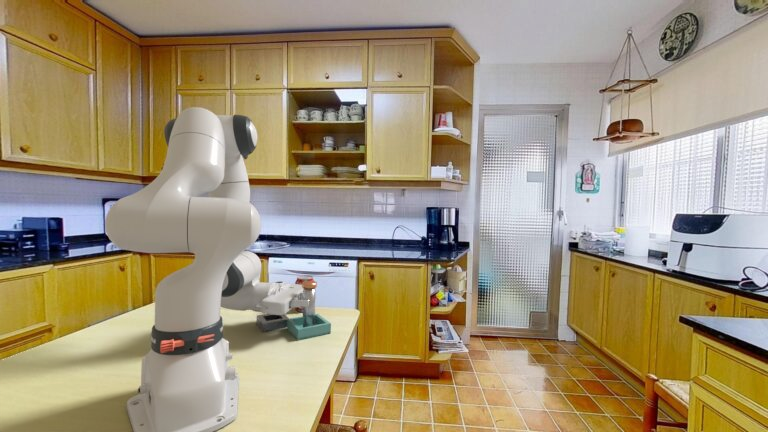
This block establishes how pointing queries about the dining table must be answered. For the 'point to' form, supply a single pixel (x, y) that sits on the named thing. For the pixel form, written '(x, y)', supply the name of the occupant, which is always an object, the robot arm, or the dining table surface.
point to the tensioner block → (271, 322)
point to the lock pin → (310, 309)
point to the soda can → (299, 281)
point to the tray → (308, 332)
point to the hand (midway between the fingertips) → (312, 300)
